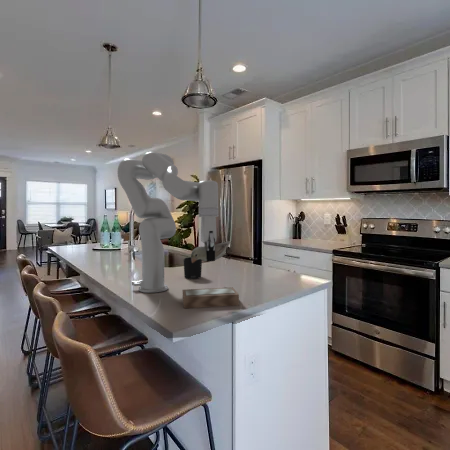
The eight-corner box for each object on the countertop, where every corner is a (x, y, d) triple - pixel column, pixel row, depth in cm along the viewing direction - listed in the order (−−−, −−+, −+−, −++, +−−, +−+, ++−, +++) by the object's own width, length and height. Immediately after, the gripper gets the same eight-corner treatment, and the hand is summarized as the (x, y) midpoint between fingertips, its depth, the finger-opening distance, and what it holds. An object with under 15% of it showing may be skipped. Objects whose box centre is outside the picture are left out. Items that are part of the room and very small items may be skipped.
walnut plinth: (183, 308, 111) (183, 296, 111) (182, 299, 122) (182, 289, 122) (238, 305, 114) (238, 294, 114) (232, 297, 125) (232, 286, 125)
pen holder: (180, 278, 161) (180, 259, 160) (190, 275, 169) (190, 256, 169) (195, 280, 157) (195, 260, 156) (205, 276, 165) (205, 258, 164)
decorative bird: (189, 262, 120) (188, 242, 120) (227, 259, 126) (227, 240, 126) (193, 264, 115) (193, 244, 115) (232, 261, 122) (232, 241, 121)
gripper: (196, 213, 128) (197, 257, 128) (201, 213, 111) (202, 263, 111) (214, 213, 129) (215, 256, 130) (222, 212, 112) (223, 262, 113)
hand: (209, 259), depth 121 cm, fingers closed on decorative bird, 5 cm apart
